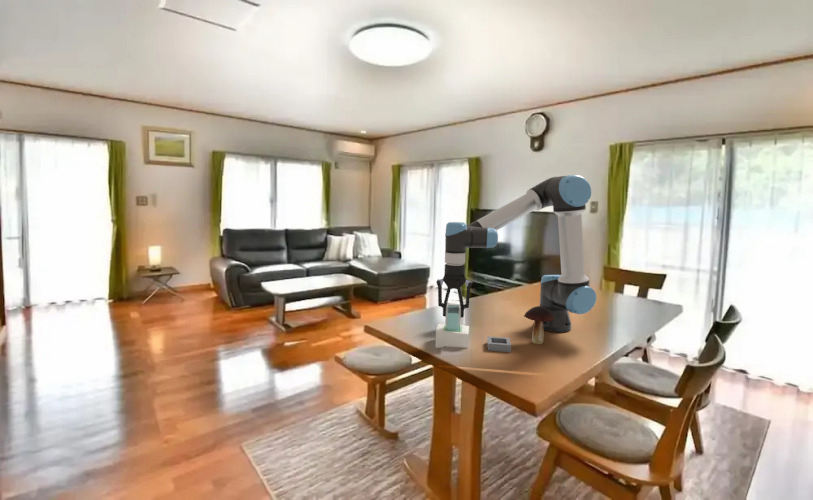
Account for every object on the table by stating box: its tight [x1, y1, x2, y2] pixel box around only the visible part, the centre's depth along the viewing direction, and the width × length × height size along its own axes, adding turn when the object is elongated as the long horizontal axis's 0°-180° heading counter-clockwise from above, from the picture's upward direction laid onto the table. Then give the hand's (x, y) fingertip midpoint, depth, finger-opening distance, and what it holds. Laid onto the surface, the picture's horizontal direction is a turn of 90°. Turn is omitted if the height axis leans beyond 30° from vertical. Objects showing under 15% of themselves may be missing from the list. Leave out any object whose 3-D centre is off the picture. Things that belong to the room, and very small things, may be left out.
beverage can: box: [444, 299, 466, 326], centre depth 169 cm, size 8×8×12 cm
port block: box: [435, 323, 470, 349], centre depth 151 cm, size 12×10×6 cm
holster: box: [486, 335, 512, 353], centre depth 147 cm, size 8×8×3 cm
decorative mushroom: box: [523, 305, 554, 345], centre depth 151 cm, size 11×11×15 cm
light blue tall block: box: [447, 305, 459, 331], centre depth 151 cm, size 4×4×12 cm
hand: (453, 325), depth 151 cm, fingers closed on light blue tall block, 4 cm apart
